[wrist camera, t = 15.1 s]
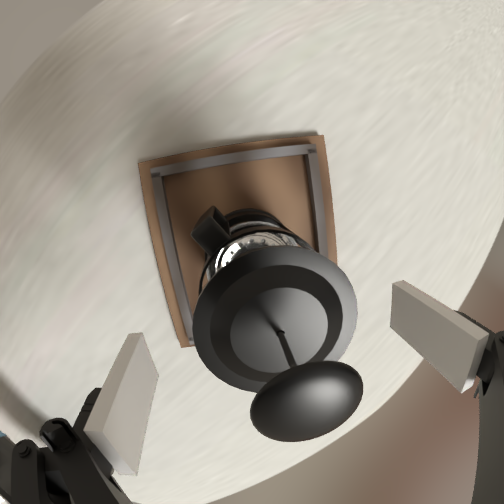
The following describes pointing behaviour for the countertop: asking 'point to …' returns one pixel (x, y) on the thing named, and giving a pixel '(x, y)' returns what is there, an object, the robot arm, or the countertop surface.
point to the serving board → (232, 205)
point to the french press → (276, 324)
